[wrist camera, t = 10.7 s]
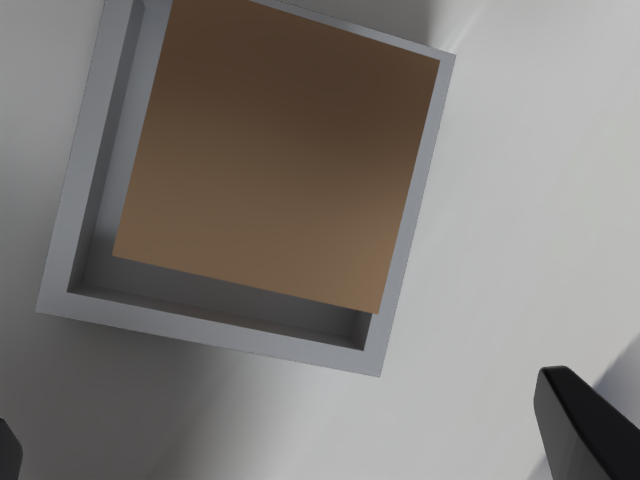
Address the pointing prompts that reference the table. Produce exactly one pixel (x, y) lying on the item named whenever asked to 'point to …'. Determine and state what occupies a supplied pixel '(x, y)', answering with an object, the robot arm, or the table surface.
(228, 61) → the block
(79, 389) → the table surface
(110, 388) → the table surface
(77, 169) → the tray
